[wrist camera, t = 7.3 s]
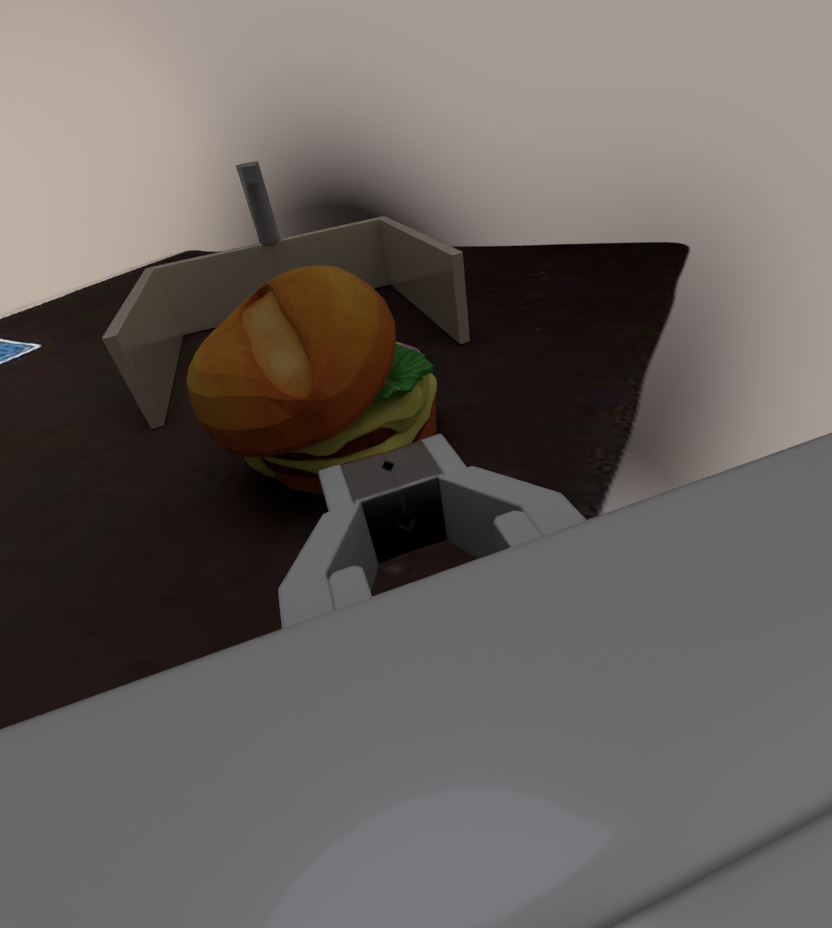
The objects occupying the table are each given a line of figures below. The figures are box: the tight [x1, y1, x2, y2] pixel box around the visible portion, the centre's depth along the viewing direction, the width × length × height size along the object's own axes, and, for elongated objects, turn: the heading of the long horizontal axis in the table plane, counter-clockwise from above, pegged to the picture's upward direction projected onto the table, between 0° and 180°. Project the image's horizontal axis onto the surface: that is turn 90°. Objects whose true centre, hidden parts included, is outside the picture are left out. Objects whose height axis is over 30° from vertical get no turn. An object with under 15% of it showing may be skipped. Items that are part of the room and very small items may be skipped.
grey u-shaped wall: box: [102, 162, 470, 429], centre depth 36 cm, size 19×22×12 cm
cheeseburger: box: [187, 265, 437, 494], centre depth 23 cm, size 10×11×10 cm
